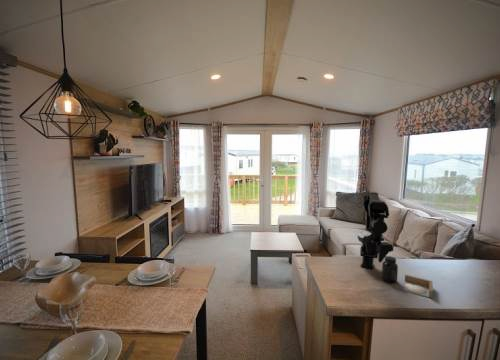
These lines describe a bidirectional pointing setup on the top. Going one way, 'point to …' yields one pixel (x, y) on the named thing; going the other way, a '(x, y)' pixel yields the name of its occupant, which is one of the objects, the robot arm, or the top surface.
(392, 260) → the supplement bottle
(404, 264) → the top surface
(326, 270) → the top surface
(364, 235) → the robot arm
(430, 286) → the corner arena
